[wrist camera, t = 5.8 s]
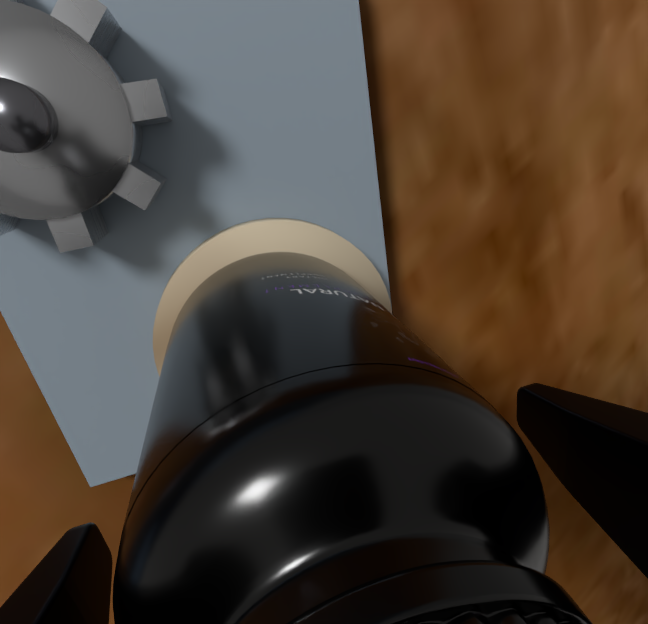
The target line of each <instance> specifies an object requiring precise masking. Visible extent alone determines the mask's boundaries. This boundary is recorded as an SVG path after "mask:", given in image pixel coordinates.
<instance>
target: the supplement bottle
mask: <svg viewBox="0 0 648 624" xmlns="http://www.w3.org/2000/svg"><path fill="white" fill-rule="evenodd" d="M548 552H549V519H548V510H547V504H546V499H545V495H544V491H543V487H542V483H541V480H540V477H539V474H538V472H537V469H536V467H535V464H534V462H533V459H532V457H531V455H530V453H529V452H528V450H527V448H526V446H525V445H524V443H523V441H522V440H521V438H520V437H519V435H518V434H517V433H516V432H515V430H514V429H513V428H512V427H511V425H510V424H509V423H508V422H507V421H506V420H505V419H504V418H503V417H502V416H501V415H500V414H499V413H498V412H497V411H496V409H495V408H494V407H493V406H492V405H490V404H489V403H488V402H487V401H486V400H485V399H484V398H483V397H482V396H481V395H480V394H479V393H478V392H477V391H476V390H475V389H474V388H472V387H471V386H470V385H469V384H468V383H467V382H466V381H465V380H464V379H463V378H462V377H460V376H459V375H458V374H457V373H456V372H455V371H454V370H453V369H452V368H451V367H450V366H448V365H447V364H446V363H445V362H444V361H443V360H442V359H441V358H440V357H439V356H437V355H436V354H435V353H434V352H433V351H432V350H431V349H430V348H429V347H428V346H427V345H425V344H424V343H423V342H422V341H421V340H420V339H419V338H418V337H417V336H416V335H415V334H413V333H412V332H411V331H410V330H409V329H408V328H407V327H406V326H405V325H404V324H402V323H401V322H400V321H399V320H398V319H397V318H396V317H395V316H394V315H393V314H392V313H390V312H389V311H388V310H387V309H386V308H385V307H384V306H383V305H382V304H381V303H379V302H378V301H377V300H376V299H375V298H374V297H373V296H372V295H371V294H370V293H369V292H367V291H366V290H365V289H364V288H363V287H362V286H361V285H360V284H359V283H357V282H356V281H355V280H354V279H352V278H351V277H350V276H349V275H347V274H346V273H345V272H344V271H342V270H341V269H339V268H337V267H336V266H334V265H332V264H330V263H328V262H326V261H324V260H322V259H319V258H316V257H313V256H309V255H305V254H301V253H294V252H268V253H262V254H256V255H253V256H249V257H245V258H243V259H240V260H237V261H235V262H233V263H230V264H228V265H226V266H225V267H223V268H221V269H219V270H218V271H216V272H215V273H213V274H212V275H211V276H209V277H208V278H207V279H206V280H205V281H203V282H202V283H201V284H200V285H199V286H198V287H197V288H196V289H195V290H194V292H193V293H192V294H191V295H190V296H189V298H188V299H187V301H186V302H185V303H184V305H183V307H182V309H181V310H180V312H179V314H178V316H177V318H176V321H175V323H174V325H173V329H172V332H171V335H170V338H169V342H168V345H167V349H166V353H165V357H164V361H163V365H162V369H161V373H160V378H159V382H158V386H157V390H156V394H155V398H154V402H153V406H152V410H151V415H150V419H149V423H148V427H147V431H146V435H145V439H144V443H143V448H142V452H141V456H140V460H139V464H138V468H137V472H136V476H135V481H134V485H133V489H132V493H131V497H130V501H129V505H128V509H127V514H126V518H125V522H124V526H123V531H122V535H121V541H120V546H119V551H118V558H117V563H116V569H115V575H114V583H113V611H114V621H115V624H592V623H591V621H590V620H589V619H588V618H587V616H586V615H585V614H584V613H583V611H582V610H581V609H580V608H579V606H578V605H577V604H576V603H575V601H574V600H573V599H572V598H571V597H570V595H569V594H568V593H567V592H566V591H565V589H563V588H562V587H561V586H560V585H559V584H558V583H557V582H556V581H554V580H553V579H551V578H550V577H548V576H546V575H545V571H546V566H547V559H548Z"/></svg>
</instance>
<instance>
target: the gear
mask: <svg viewBox="0 0 648 624" xmlns="http://www.w3.org/2000/svg"><path fill="white" fill-rule="evenodd" d="M121 30H122V28H121V26H120V25H119V24H118V22H117V21H116V19H115V18H114V17H113V15H112V14H111V12H110V11H109V9H108V8H107V7H106V6H105V5H103V4H102V3H101V2H99V1H98V0H57V2H56V4H55V6H54V8H53V10H52V12H51V14H50V15H48V14H46V13H44V12H42V11H40V10H38V9H35V8H33V7H30V6H27V5H24V2H23V0H0V236H1V235H3V234H6V233H8V232H11V231H13V230H15V229H16V228H17V227H18V225H19V223H20V221H21V219H22V218H23V219H32V220H46V221H47V223H48V226H49V228H50V230H51V233H52V235H53V237H54V240H55V242H56V245H57V247H58V249H59V252H60V253H62V252H66V251H71V250H76V249H81V248H86V247H91V246H94V245H95V244H96V243H98V242H99V241H100V240H101V239H102V238H103V237H105V236H106V235H107V234H108V233H109V232H108V230H107V227H106V224H105V222H104V219H103V216H102V213H101V211H100V208H99V205H98V204H100V203H102V202H104V201H105V200H107V199H109V198H110V197H112V196H114V195H115V194H118V195H119V196H121V197H123V198H124V199H126V200H128V201H129V202H131V203H133V204H135V205H136V206H138V207H140V208H141V209H143V210H146V209H147V208H148V207H149V206H150V205H151V204H152V203H153V202H154V200H155V198H156V196H157V195H158V193H159V191H160V190H161V188H162V186H163V184H164V183H165V181H166V179H167V178H165V177H164V176H162V175H160V174H159V173H157V172H156V171H154V170H152V169H151V168H149V167H148V166H146V165H145V164H143V163H141V162H140V161H139V159H140V156H141V151H142V144H143V131H142V126H145V125H151V124H157V123H163V122H169V121H173V120H172V116H171V113H170V109H169V106H168V102H167V99H166V95H165V91H164V88H163V87H162V85H161V84H160V83H159V81H158V80H157V79H150V80H143V81H137V82H130V83H126V82H125V81H124V79H123V78H122V76H121V75H120V74H119V73H118V71H117V70H116V69H115V68H114V66H113V65H112V64H111V63H110V62H109V61H108V60H107V59H106V58H107V56H108V55H109V53H110V51H111V49H112V47H113V45H114V43H115V41H116V39H117V38H118V36H119V34H120V32H121Z"/></svg>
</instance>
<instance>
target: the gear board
mask: <svg viewBox="0 0 648 624" xmlns="http://www.w3.org/2000/svg"><path fill="white" fill-rule="evenodd" d="M98 1H99V2H101V3H102V4H103V5H105V6H106V7H107V8H108V9H109V11H110V12H111V14H112V15H113V17H114V18H115V19H116V21H117V22H118V24H119V25H120V26H121V28H122V30H121V32H120V34H119V36H118V38H117V39H116V41H115V43H114V45H113V47H112V49H111V51H110V53H109V55H108V56H107V58H106V59H107V60H108V61H109V62H110V63H111V64H112V65H113V66H114V68H115V69H116V70H117V71H118V73H119V74H120V75H121V76H122V78H123V79H124V81H125V82H126V83H130V82H137V81H143V80H150V79H157V80H158V81H159V83H160V84H161V85H162V87H163V88H164V91H165V95H166V99H167V102H168V106H169V109H170V113H171V116H172V120H173V121H169V122H163V123H157V124H151V125H145V126H142V131H143V144H142V151H141V156H140V159H139V161H140V162H141V163H143V164H145V165H146V166H148V167H149V168H151V169H152V170H154V171H156V172H157V173H159V174H160V175H162V176H164V177H165V178H167V179H166V181H165V183H164V184H163V186H162V188H161V190H160V191H159V193H158V195H157V196H156V198H155V200H154V202H153V203H152V204H151V205H150V206H149V207H148V208H147V209H146V210H143V209H141V208H140V207H138V206H136V205H135V204H133V203H131V202H129V201H128V200H126V199H124V198H123V197H121V196H119V195H118V194H115V195H114V196H112V197H110V198H109V199H107V200H105V201H104V202H102V203H100V204H98V205H99V208H100V211H101V213H102V216H103V219H104V222H105V224H106V227H107V230H108V232H109V233H108V234H107V235H106V236H105V237H103V238H102V239H101V240H100V241H99V242H98V243H96V244H95V245H94V246H91V247H86V248H81V249H76V250H71V251H66V252H62V253H60V252H59V249H58V247H57V245H56V242H55V240H54V237H53V235H52V233H51V230H50V228H49V226H48V223H47V221H46V220H32V219H23V218H22V219H21V221H20V223H19V225H18V227H17V228H16V229H15V230H13V231H11V232H8V233H6V234H3V235H1V236H0V311H1V313H2V315H3V317H4V319H5V321H6V323H7V325H8V327H9V329H10V331H11V333H12V335H13V337H14V339H15V340H16V342H17V344H18V346H19V348H20V350H21V352H22V354H23V356H24V358H25V360H26V362H27V364H28V366H29V368H30V370H31V372H32V374H33V376H34V378H35V380H36V382H37V384H38V385H39V387H40V389H41V391H42V393H43V395H44V397H45V399H46V401H47V403H48V405H49V407H50V409H51V411H52V413H53V415H54V417H55V419H56V421H57V423H58V425H59V427H60V429H61V431H62V432H63V434H64V436H65V438H66V440H67V442H68V444H69V446H70V448H71V450H72V452H73V454H74V456H75V458H76V460H77V462H78V464H79V466H80V468H81V470H82V472H83V474H84V476H85V477H86V479H87V481H88V483H89V485H90V487H92V486H96V485H99V484H102V483H106V482H109V481H112V480H116V479H119V478H122V477H125V476H129V475H132V474H135V473H136V472H137V468H138V464H139V460H140V456H141V452H142V448H143V443H144V439H145V435H146V431H147V427H148V423H149V419H150V415H151V410H152V406H153V402H154V398H155V394H156V390H157V386H158V382H159V378H160V377H159V374H158V371H157V367H156V364H155V360H154V352H153V327H154V322H155V316H156V312H157V309H158V306H159V303H160V300H161V297H162V294H163V291H164V289H165V287H166V285H167V283H168V281H169V279H170V277H171V275H172V274H173V273H174V271H175V270H176V268H177V267H178V266H179V264H180V263H181V262H182V261H183V260H184V259H185V258H186V256H187V255H188V254H189V253H190V252H191V251H192V250H193V249H195V248H196V247H197V246H198V245H200V244H201V243H202V242H203V241H205V240H206V239H208V238H210V237H211V236H213V235H215V234H216V233H218V232H220V231H222V230H224V229H227V228H229V227H231V226H234V225H236V224H240V223H243V222H247V221H251V220H257V219H264V218H290V219H298V220H303V221H307V222H311V223H314V224H317V225H320V226H322V227H324V228H327V229H329V230H331V231H333V232H334V233H336V234H338V235H339V236H341V237H343V238H344V239H346V240H347V241H349V242H350V243H351V244H353V245H354V246H355V247H356V248H358V249H359V250H360V251H361V252H362V253H363V254H364V255H365V256H366V257H367V258H368V259H369V260H370V261H371V263H372V264H373V266H374V267H375V268H376V270H377V271H378V273H379V274H380V276H381V278H382V280H383V282H384V284H385V286H386V289H387V292H388V295H389V299H390V303H391V297H390V287H389V278H388V269H387V260H386V250H385V241H384V232H383V222H382V213H381V204H380V195H379V185H378V176H377V167H376V157H375V148H374V139H373V130H372V120H371V111H370V102H369V92H368V83H367V74H366V65H365V55H364V46H363V37H362V27H361V18H360V9H359V0H98ZM23 2H24V5H27V6H30V7H33V8H35V9H38V10H40V11H42V12H44V13H46V14H48V15H50V14H51V12H52V10H53V8H54V6H55V4H56V2H57V0H23ZM391 309H392V306H391Z"/></svg>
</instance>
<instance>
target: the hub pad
mask: <svg viewBox="0 0 648 624" xmlns="http://www.w3.org/2000/svg"><path fill="white" fill-rule="evenodd" d="M268 252H294V253H301V254H305V255H309V256H313V257H316V258H319V259H322V260H324V261H326V262H328V263H330V264H332V265H334V266H336V267H337V268H339V269H341V270H342V271H344V272H345V273H346V274H347V275H349V276H350V277H351V278H352V279H354V280H355V281H356V282H357V283H359V284H360V285H361V286H362V287H363V288H364V289H365V290H366V291H367V292H369V293H370V294H371V295H372V296H373V297H374V298H375V299H376V300H377V301H378V302H379V303H381V304H382V305H383V306H384V307H385V308H386V309H387V310H388V311H389V312H390V313H392V309H391V303H390V299H389V295H388V292H387V289H386V286H385V284H384V282H383V280H382V278H381V276H380V274H379V273H378V271H377V270H376V268H375V267H374V266H373V264H372V263H371V261H370V260H369V259H368V258H367V257H366V256H365V255H364V254H363V253H362V252H361V251H360V250H359V249H358V248H356V247H355V246H354V245H353V244H351V243H350V242H349V241H347V240H346V239H344V238H343V237H341V236H339V235H338V234H336V233H334V232H333V231H331V230H329V229H327V228H324V227H322V226H320V225H317V224H314V223H311V222H307V221H303V220H298V219H290V218H264V219H257V220H251V221H247V222H243V223H240V224H236V225H234V226H231V227H229V228H227V229H224V230H222V231H220V232H218V233H216V234H215V235H213V236H211V237H210V238H208V239H206V240H205V241H203V242H202V243H201V244H200V245H198V246H197V247H196V248H195V249H193V250H192V251H191V252H190V253H189V254H188V255H187V256H186V258H185V259H184V260H183V261H182V262H181V263H180V264H179V266H178V267H177V268H176V270H175V271H174V273H173V274H172V275H171V277H170V279H169V281H168V283H167V285H166V287H165V289H164V291H163V294H162V297H161V300H160V303H159V306H158V309H157V312H156V316H155V322H154V327H153V352H154V360H155V364H156V367H157V371H158V374H159V377H160V373H161V369H162V365H163V361H164V357H165V353H166V349H167V345H168V342H169V338H170V335H171V332H172V329H173V325H174V323H175V321H176V318H177V316H178V314H179V312H180V310H181V309H182V307H183V305H184V303H185V302H186V301H187V299H188V298H189V296H190V295H191V294H192V293H193V292H194V290H195V289H196V288H197V287H198V286H199V285H200V284H201V283H202V282H203V281H205V280H206V279H207V278H208V277H209V276H211V275H212V274H213V273H215V272H216V271H218V270H219V269H221V268H223V267H225V266H226V265H228V264H230V263H233V262H235V261H237V260H240V259H243V258H245V257H249V256H253V255H256V254H262V253H268Z"/></svg>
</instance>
